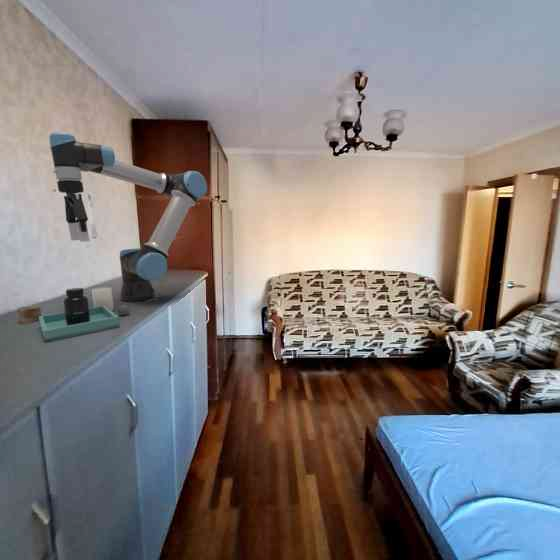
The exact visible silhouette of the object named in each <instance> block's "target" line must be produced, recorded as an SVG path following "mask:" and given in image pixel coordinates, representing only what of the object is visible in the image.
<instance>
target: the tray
mask: <svg viewBox="0 0 560 560" xmlns="http://www.w3.org/2000/svg"><path fill="white" fill-rule="evenodd" d="M89 314H90V322H85V323H80V324H74V325H69V326H67V324H66V318H65V311H64V312H57V313H52V314H45V315H41V316H39V321H38V323H39V327H40V330H41V332H42V336H43V339H44V342H45V343H49V342H55V341H59V340H64V339H68V338H73V337H79V336H83V335H88V334H93V333H97V331H98V332H103V331H106V330H110V329H111V330H112V329H116V328H117V329H118V328H120V320H119V319H120V318H119V316H118V315H117V314H116V313H115V312H113V310H112V311H111V310H109V309H108V308H107V307H106V306H99V307H94V306H93V307H89ZM102 330H103V331H102Z"/></svg>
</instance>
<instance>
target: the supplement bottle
mask: <svg viewBox="0 0 560 560" xmlns="http://www.w3.org/2000/svg"><path fill="white" fill-rule="evenodd" d="M84 294H85V292H84V288H81V287H76V288H75V287H73V288H68V289H65V295H66V297H65V298H64V300H63V308H64V312H65V318H66V324H67V326H69V325H74V324H80V323H85V322H90V314H89V308H90V306H89V299H88V297H87V296H86V295H84Z"/></svg>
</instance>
